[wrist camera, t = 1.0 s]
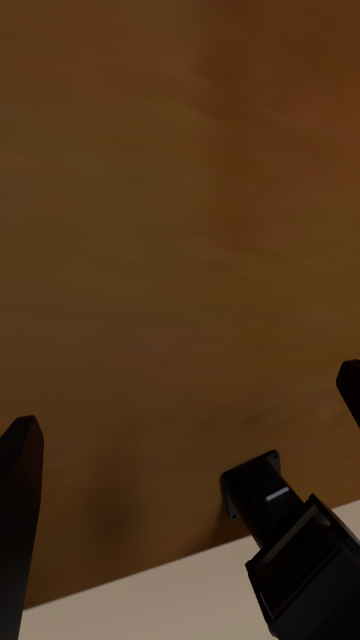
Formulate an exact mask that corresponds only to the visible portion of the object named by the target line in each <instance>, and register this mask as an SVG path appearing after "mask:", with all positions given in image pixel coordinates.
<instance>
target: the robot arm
mask: <svg viewBox="0 0 360 640" xmlns="http://www.w3.org/2000/svg"><path fill="white" fill-rule="evenodd" d="M336 386H337V388H338V390H339V392H340V394H341V396H342V397H343V399H344V401H345V403H346V405H347V406H348V408H349V410H350V412H351V414H352V416H353V417H354V419H355V421H356V423H357V425H358V426H359V428H360V360H358V359H353V360H347V361H344V362H343V363H342V365H341V367H340V370H339V373H338V376H337V379H336ZM43 451H44V438H43V434H42V431H41V429H40V426H39V424H38V421H37V419H36V417H35V416H34V415H28V416H22V417H18V418H17V419H15V420H14V421H13V423H12V424H11V425H10V426H9V427H8V429H7V430H6V431H5V432H4V434H3V435H2V436H1V437H0V640H18V636H19V630H20V624H21V618H22V612H23V606H24V600H25V594H26V588H27V582H28V576H29V570H30V564H31V558H32V552H33V546H34V540H35V534H36V528H37V522H38V516H39V510H40V502H41V488H42V469H43ZM222 480H223V486H224V492H225V498H226V504H227V510H228V516H229V517H230V519H231V520H235V519H237V518H239V517H241V518H242V520H243V522H244V523H245V525H246V527H247V528H248V530H249V532H250V533H251V535H252V536H253V538H254V540H255V541H256V543H257V545H258V546H259V548H260V551H259V552H258V553H257V554H256V555H255V556H254V557H253V558H252V559H251V560H249V561H248V562H247V563H246V564H245V566H246V569H247V572H248V577H249V579H250V582H251V584H252V587H253V590H254V592H255V595H256V598H257V600H258V603H259V606H260V608H261V611H262V613H263V616H264V619H265V621H266V623H267V625H268V629H269V631H270V633H271V634H272V636H274V637H276V638H278V639H279V640H360V541H359V539H358V538H357V537H356V536H355V535H354V533H353V532H352V531H351V530H350V529H349V528H348V527H347V526H346V525H345V524H344V523H343V522H342V521H341V520H340V519H339V517H337V515H336V514H335V513H334V512H333V511H332V510H331V509H330V508H329V507H327V506H326V505H325V504H324V503H323V502H322V501H321V500H320V499H319V498H318V497H317V496H316V495H314V494H313V493H312V494H311V495H310V496H309V499H308V500H307V501H306V502H305V503H304V502H303V501H302V500H301V498H300V497H299V496H298V495H297V494H296V493H295V491H294V490H293V489H292V488H291V487H290V486H289V484H288V483H287V482H286V481H285V480H284V479H283V477H282V476H281V470H280V456H279V453H278V452H277V451H276V450H272V451H270V452H268V453H266V454H264V455H262V456H260V457H257V458H255V459H253V460H251V461H249V462H247V463H245V464H242V465H240V466H238V467H236V468H234V469H232V470H230V471H227V472H225V473H224V474H223V476H222Z"/></svg>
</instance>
